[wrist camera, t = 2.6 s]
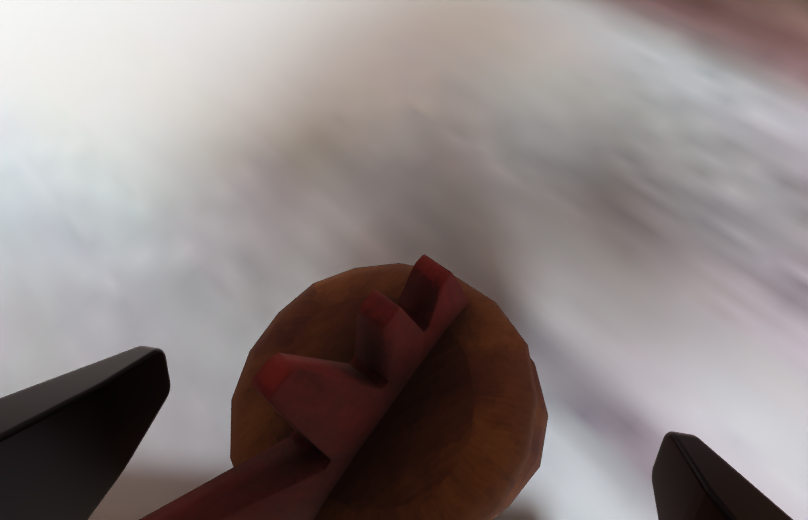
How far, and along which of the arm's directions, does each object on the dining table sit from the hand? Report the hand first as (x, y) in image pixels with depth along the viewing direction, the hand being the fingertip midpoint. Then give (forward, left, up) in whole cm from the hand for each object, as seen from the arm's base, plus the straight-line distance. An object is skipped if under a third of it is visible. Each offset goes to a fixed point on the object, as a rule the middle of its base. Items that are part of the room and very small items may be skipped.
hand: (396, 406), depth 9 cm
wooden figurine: (0, 0, -9) cm, 9 cm away
